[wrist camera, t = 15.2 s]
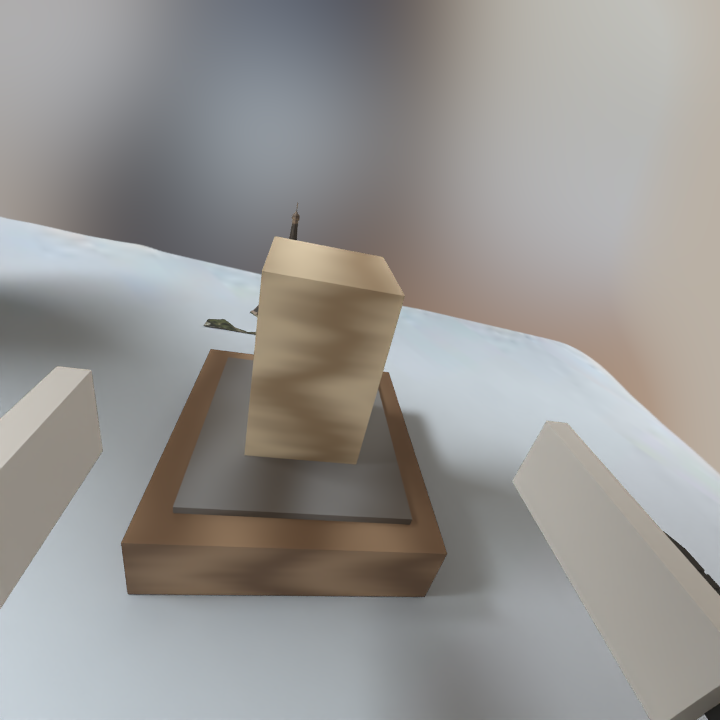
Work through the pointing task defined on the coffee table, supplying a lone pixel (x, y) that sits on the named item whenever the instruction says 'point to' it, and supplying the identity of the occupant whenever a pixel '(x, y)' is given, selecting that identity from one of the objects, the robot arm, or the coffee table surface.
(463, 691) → the coffee table surface
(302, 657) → the coffee table surface
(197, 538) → the walnut frame
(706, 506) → the coffee table surface
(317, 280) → the oak block
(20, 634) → the coffee table surface
